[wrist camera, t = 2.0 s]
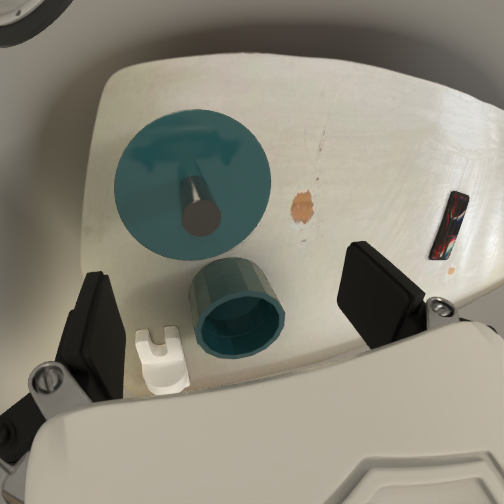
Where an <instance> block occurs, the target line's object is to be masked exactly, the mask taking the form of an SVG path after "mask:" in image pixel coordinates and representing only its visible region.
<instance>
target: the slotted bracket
mask: <svg viewBox="0 0 504 504" xmlns="http://www.w3.org/2000/svg"><path fill="white" fill-rule="evenodd" d="M164 336H165V342H166V343H165V344H163V345H156V344H154V343H152V341H151V338H150V335H149V331H148V329H142V330H138V331H136V339H135V346H136V349H137V352H138V354H139V357H140V360H141V362H142V374H143V378H144V380H145V383H146V385H147V387H148V389H149V390H150V391H151V392H152V393H153V394H155V395H164V394H172V393H179V392H181V391H182V390H183V389H184V388H185V387H188V386H189V385H190V383H189V377H188V371H187V367H186V362H185V358H184V353H183V349H182V344H181V340H180V335H179V330H178V328H177V327H176V326H169V327H164Z"/></svg>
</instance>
